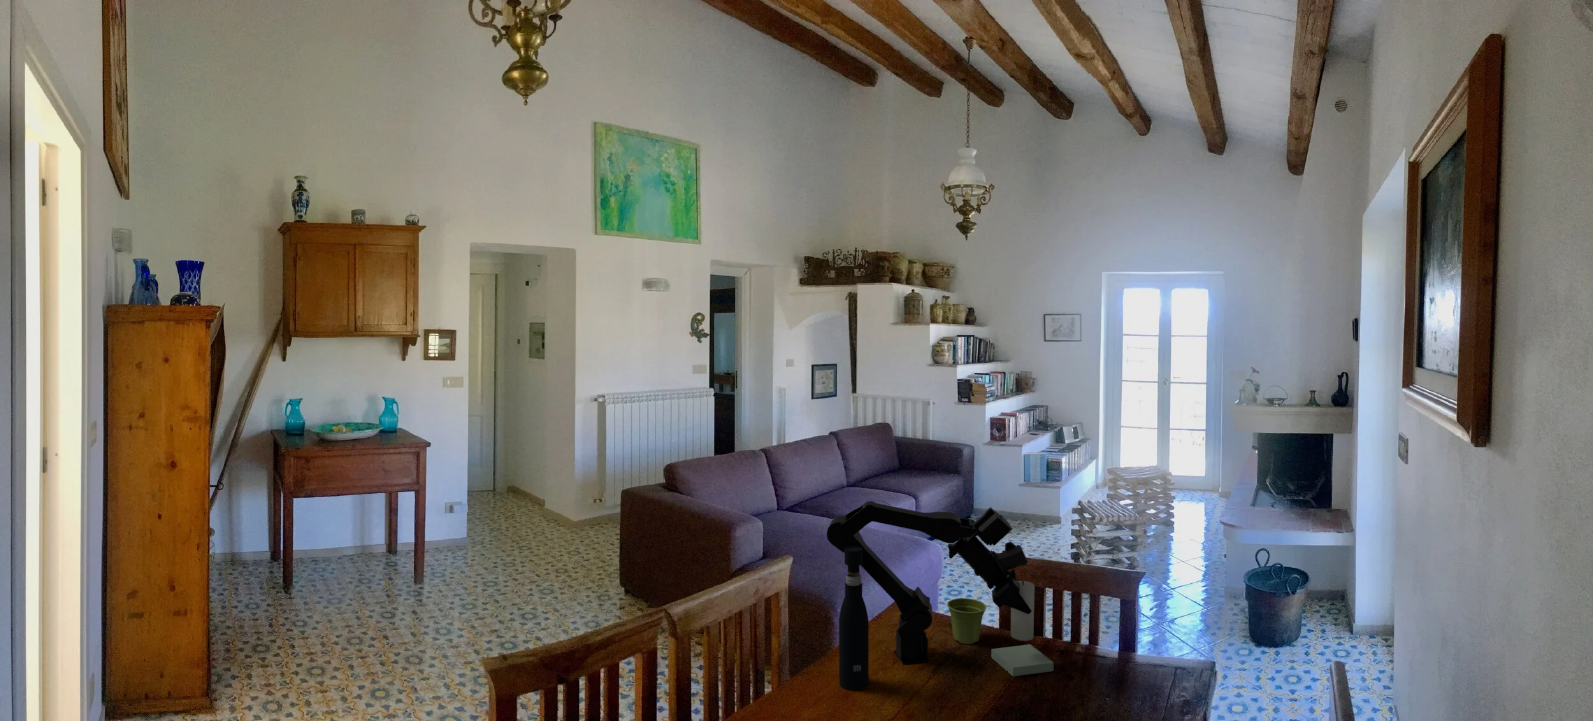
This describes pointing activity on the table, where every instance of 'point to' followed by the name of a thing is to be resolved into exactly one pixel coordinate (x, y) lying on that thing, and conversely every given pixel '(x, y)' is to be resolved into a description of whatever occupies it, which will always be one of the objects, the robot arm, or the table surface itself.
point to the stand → (1022, 660)
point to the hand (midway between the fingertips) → (1028, 608)
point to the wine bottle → (853, 627)
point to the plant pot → (966, 619)
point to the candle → (1023, 614)
